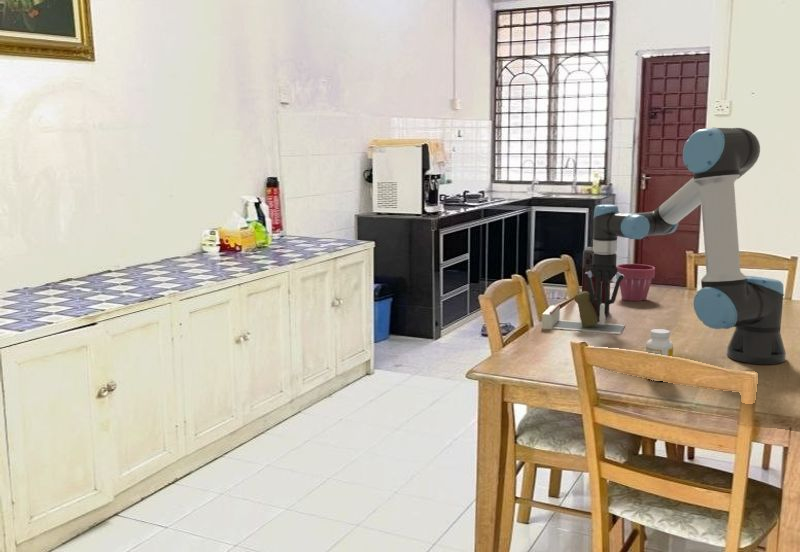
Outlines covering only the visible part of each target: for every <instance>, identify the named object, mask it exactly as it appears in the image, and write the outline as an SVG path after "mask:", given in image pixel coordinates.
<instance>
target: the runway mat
mask: <svg viewBox="0 0 800 552" xmlns="http://www.w3.org/2000/svg"><path fill="white" fill-rule="evenodd" d="M625 327H626V325H625V324H614V323H605V324H604V325H600V324H599V323H597V324H595V325H592V326H588V327H582V323H581V321H580V320H579V321H578V320H577V321H575V320H565V319H564V320H563V319H559V320H558V322H557V323H556V324H555V325H554V326H553V327H552V329H551V330H560V329H563V331H573V332H586V333H596V334H597V333H598V334H613V335H621V334H622V332H623V330H624V329H625Z"/></svg>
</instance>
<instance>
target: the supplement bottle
mask: <svg viewBox="0 0 800 552" xmlns="http://www.w3.org/2000/svg"><path fill="white" fill-rule="evenodd" d="M649 335H650V337H651V338H650V339H648V340H647V341H646V344H645V353H646V352H648V353H655V354H661V355H667V356H672V357H673V358H674V343H673V342H672V340H670V335H671V332H670V330H667V329H664V328H663V329H662V328H655V329H651V330H650V334H649ZM651 382H654V381H653V380H652V381H651Z"/></svg>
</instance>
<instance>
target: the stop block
mask: <svg viewBox="0 0 800 552" xmlns="http://www.w3.org/2000/svg"><path fill="white" fill-rule="evenodd" d="M560 309H561V305H560V303H556V304H555V305H550V306H549V307H548V308H547V309H546V310H544V312H543V313H542V314H541V329H542V330H553V329H552V327H553V326H554V325H555V324H556V323H557V322H558V320H560V319H561V318H560V317H561V316H560V314H561V312H560V311H561V310H560Z"/></svg>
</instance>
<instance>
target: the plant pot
mask: <svg viewBox="0 0 800 552" xmlns="http://www.w3.org/2000/svg"><path fill="white" fill-rule="evenodd" d="M616 267H617V269H618V272H619V273H621V274H624V278H623V279H622V280H621V283H620V286H619V289H620V295H621V299H622V300H624V301H628V300H629V302H643V301H642V300H645V301H647V299H648V298H647V297H648V295H649V291H650V287H651V284H652V280H653V279H654V278H655V275H656V274H655V273H656V267H655V266H653V265H648V264H641V263H622V264H621V263H620V264H616Z"/></svg>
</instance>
